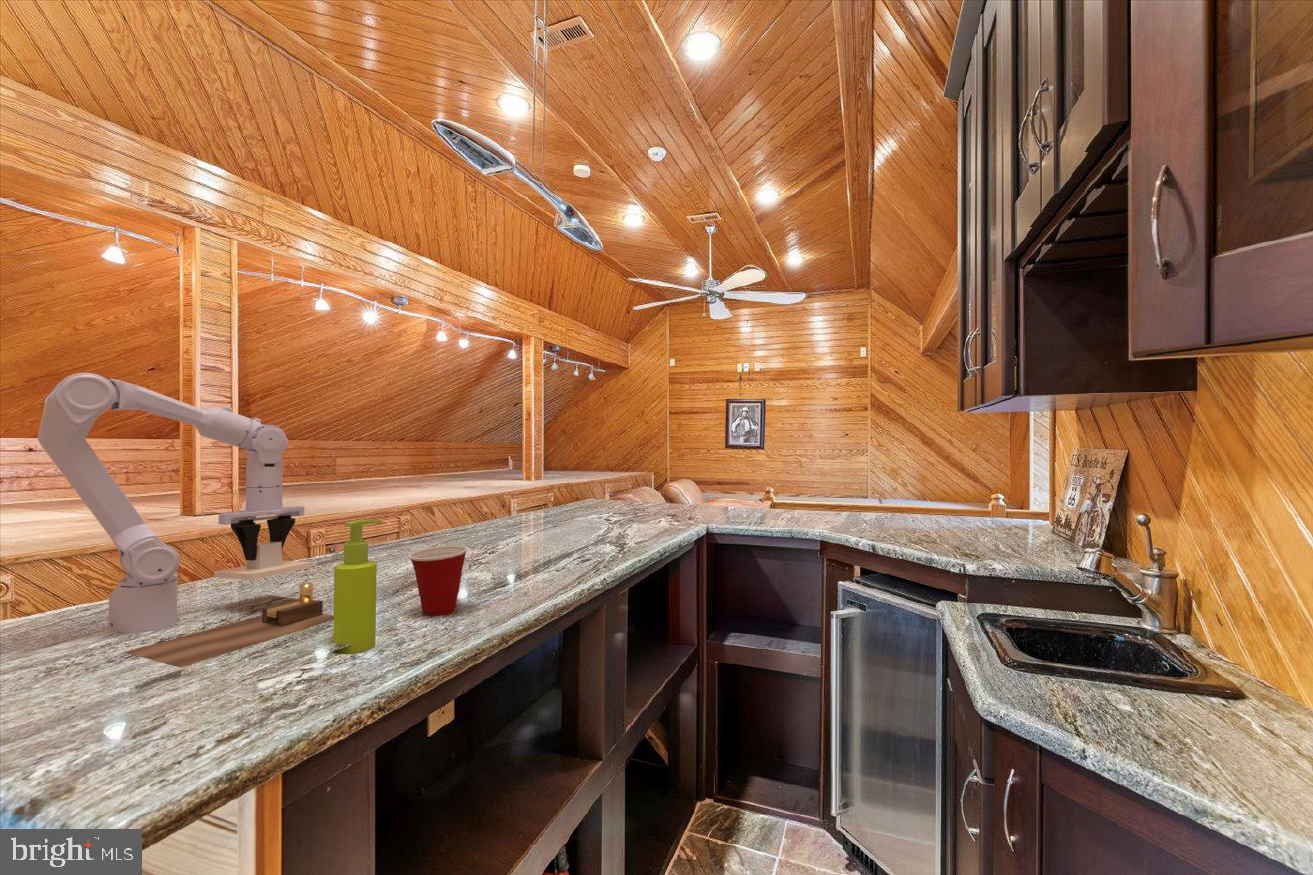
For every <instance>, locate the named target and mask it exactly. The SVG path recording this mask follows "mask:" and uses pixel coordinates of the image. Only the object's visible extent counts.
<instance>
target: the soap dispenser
mask: <svg viewBox="0 0 1313 875" xmlns="http://www.w3.org/2000/svg"><path fill="white" fill-rule="evenodd" d="M382 523H383V521H381V520H376V519H366V518H365V519H363V518H362V519H357V520H350V521H348V522H347V521H346V522H344V527H347V528H350V531H349V535H350V536H349V540H347V541H345V542H344V543H343V562H342V563H337V564H336V565H334V568H333V570H334V572H333V573H334V576H333V578H334V579H333V583H334V584H333V585H334V586H333V616H334V620H333V626H332V627H333V632H332V633H333V636H332V638H333V639H332V642H333V643H334V644H336V645H341V646H342V645H343V647H341V648H338V649H336V650H333V652H334V654H338V655H353V654H358V653H363V652H367V651H368V650H371V649H372V648H374V647H375V646H376V641H377V640H376V639H377V636H376V633H377V631H376V630H377V629H376V626H377V571H378V568H377V564H378V563H377V562H376V561H373V560H369V541H367V540H366V539H364V538H363V526H367V525H372V524H374V525H375V524H376V525H381V524H382ZM344 645H345V646H344Z"/></svg>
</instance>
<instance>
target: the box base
mask: <svg viewBox="0 0 1313 875" xmlns="http://www.w3.org/2000/svg"><path fill="white" fill-rule="evenodd" d="M297 601H300V597H299V598H296V599H292V600H288V601H284V602H280V603H277V604H273V605H269V606H268V605H267V606H266V607H262V609H261V610H262V611H261V615H259V616H255V617H249V618H247V619H244V620H240V621H239V620H238V621H235V622H230V623H228V624H224V625H221V626H217V627H214V628H209V629H205V630H203V631H197V632H195V633H191V634H187V635H184V636H180V637H176V638H172V639H169V640H165V641H162V642H157V643H154V644H151V645H150V644H149V645H146V646H143V647H140V648H135V649H132V650H128V651H125V652H124V653H125V654H129V655H132V656H137V657H141V658H144V659H148V660H151V661H154V662H155V661H156V662H159V663H162V664H166V665H170V666H173V667H177V668H180V669H181V668H185V667H188V666H191V665H194V664H197V663H201V662H203V661H207V660H210V659H214V658H216V657H219V656H220V657H221V656H222V655H226V654H229V653H231V652H235V651H238V650H242V649H244V648H248V647H251V646H255V645H258V644H261V643H264V642H267V641H271V640H273V639H276V638H280V637H283V636H286V635H289V634H293V633H296V632H299V631H302V630H305V629H309V628H312V627H315V626H318V625H322V624H324V623H328V622H331V621H334V614H333V615H332V614H327V613H323V612H324V611H323V602H324V601H323V600H320V599H319V600H316V601H313V602H309V603H306V604H302V605H298V606H295V607H291V608H287V609H283V610H280V611H278V618H273V617H268V616H267V609H270V608H274V607H278V606H281V605H285V604H289V603H293V602H297Z"/></svg>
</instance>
